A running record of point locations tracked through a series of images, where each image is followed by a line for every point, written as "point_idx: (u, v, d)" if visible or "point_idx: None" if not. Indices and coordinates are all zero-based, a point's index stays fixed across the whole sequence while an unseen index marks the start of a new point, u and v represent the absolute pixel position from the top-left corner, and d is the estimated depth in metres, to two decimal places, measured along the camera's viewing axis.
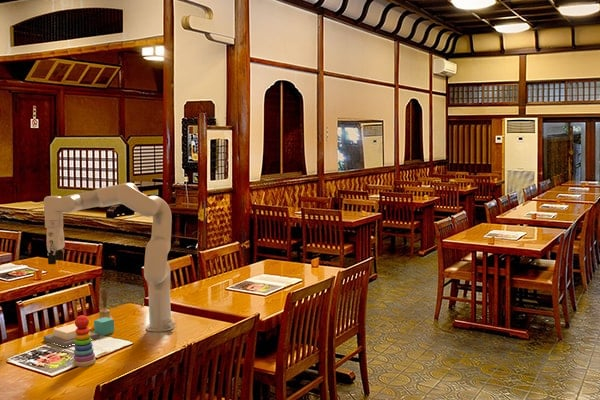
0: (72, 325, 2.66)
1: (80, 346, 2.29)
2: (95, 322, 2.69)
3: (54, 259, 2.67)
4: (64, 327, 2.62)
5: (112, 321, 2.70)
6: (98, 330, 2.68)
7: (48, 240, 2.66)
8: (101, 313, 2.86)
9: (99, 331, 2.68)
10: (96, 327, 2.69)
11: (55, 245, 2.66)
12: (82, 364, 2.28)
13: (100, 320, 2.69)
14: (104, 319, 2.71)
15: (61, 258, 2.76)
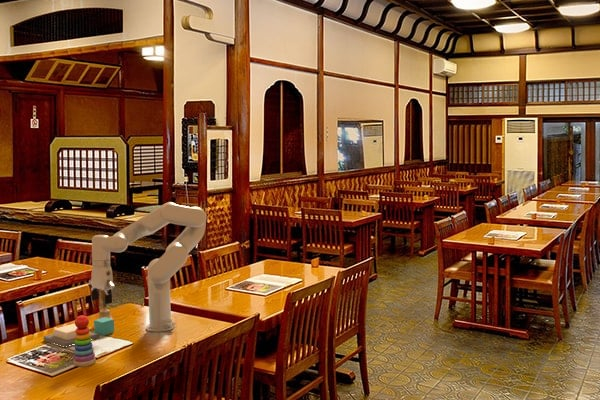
0: (72, 325, 2.66)
1: (80, 346, 2.29)
2: (95, 322, 2.69)
3: (111, 298, 2.67)
4: (64, 327, 2.62)
5: (112, 321, 2.70)
6: (98, 330, 2.68)
7: (106, 280, 2.65)
8: (101, 313, 2.86)
9: (99, 331, 2.68)
10: (96, 327, 2.69)
11: None
12: (82, 364, 2.28)
13: (100, 320, 2.69)
14: (104, 319, 2.71)
15: (97, 297, 2.73)
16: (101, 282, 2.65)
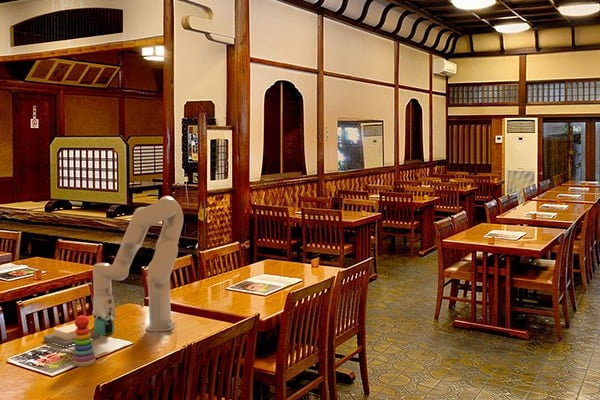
0: (72, 325, 2.66)
1: (80, 346, 2.29)
2: (95, 322, 2.69)
3: None
4: (64, 327, 2.62)
5: None
6: (98, 330, 2.68)
7: (108, 308, 2.66)
8: None
9: (99, 331, 2.68)
10: (96, 327, 2.69)
11: (114, 311, 2.68)
12: (82, 364, 2.28)
13: (100, 320, 2.69)
14: (103, 319, 2.71)
15: None
16: (103, 310, 2.66)
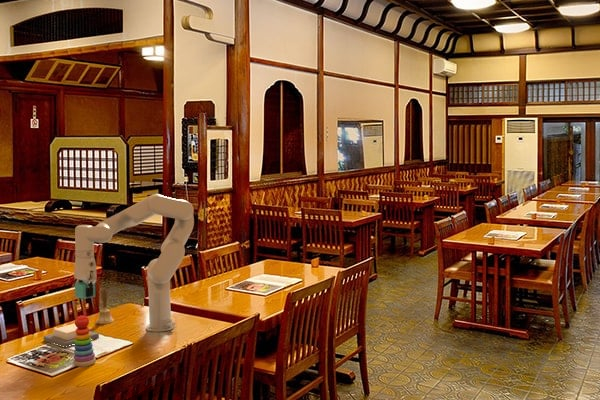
0: (72, 325, 2.66)
1: (80, 346, 2.29)
2: (76, 285, 2.63)
3: None
4: (64, 327, 2.62)
5: None
6: (78, 293, 2.62)
7: (89, 271, 2.60)
8: (101, 313, 2.86)
9: (79, 294, 2.62)
10: (77, 290, 2.63)
11: (95, 275, 2.62)
12: (82, 364, 2.28)
13: (81, 283, 2.63)
14: (85, 282, 2.65)
15: None
16: (84, 273, 2.60)
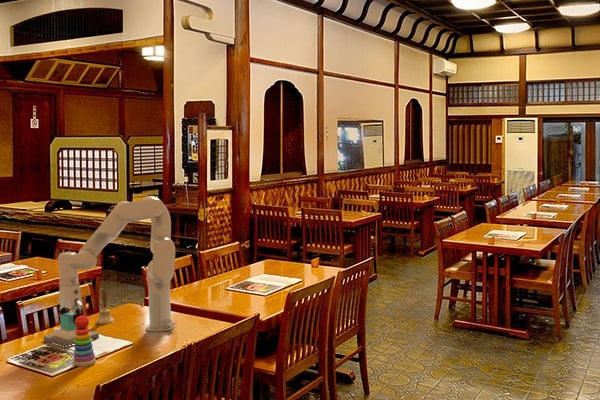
0: None
1: (80, 346, 2.29)
2: (61, 317, 2.60)
3: None
4: None
5: None
6: (64, 325, 2.59)
7: (74, 298, 2.56)
8: (101, 313, 2.86)
9: (65, 326, 2.58)
10: (62, 322, 2.60)
11: (80, 302, 2.59)
12: (82, 364, 2.28)
13: (66, 315, 2.60)
14: (70, 313, 2.62)
15: None
16: (69, 301, 2.57)
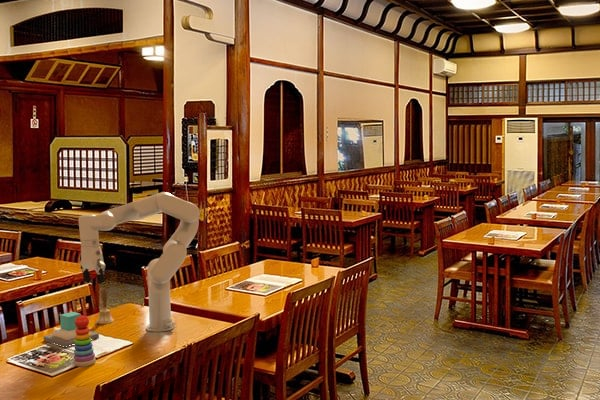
0: None
1: (80, 346, 2.29)
2: (61, 317, 2.60)
3: (103, 277, 2.63)
4: None
5: None
6: (64, 325, 2.59)
7: (96, 259, 2.61)
8: (101, 313, 2.86)
9: (65, 326, 2.58)
10: (62, 322, 2.60)
11: (102, 263, 2.63)
12: (82, 364, 2.28)
13: (66, 315, 2.60)
14: (70, 313, 2.62)
15: (89, 278, 2.69)
16: (91, 262, 2.61)
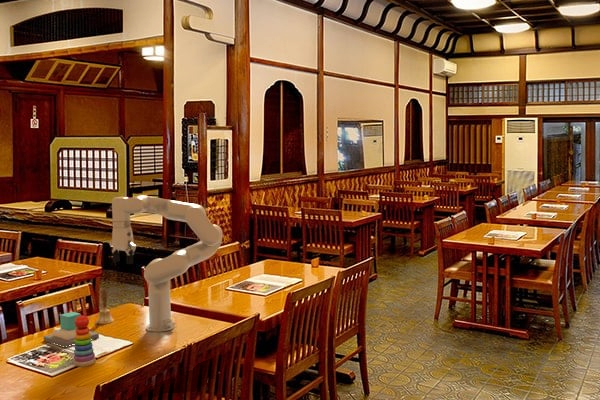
0: None
1: (80, 346, 2.29)
2: (61, 317, 2.60)
3: (132, 258, 2.71)
4: None
5: None
6: (64, 325, 2.59)
7: (127, 240, 2.69)
8: (101, 313, 2.86)
9: (65, 326, 2.58)
10: (62, 322, 2.60)
11: None
12: (82, 364, 2.28)
13: (66, 315, 2.60)
14: (70, 313, 2.62)
15: (118, 259, 2.77)
16: (122, 243, 2.69)
